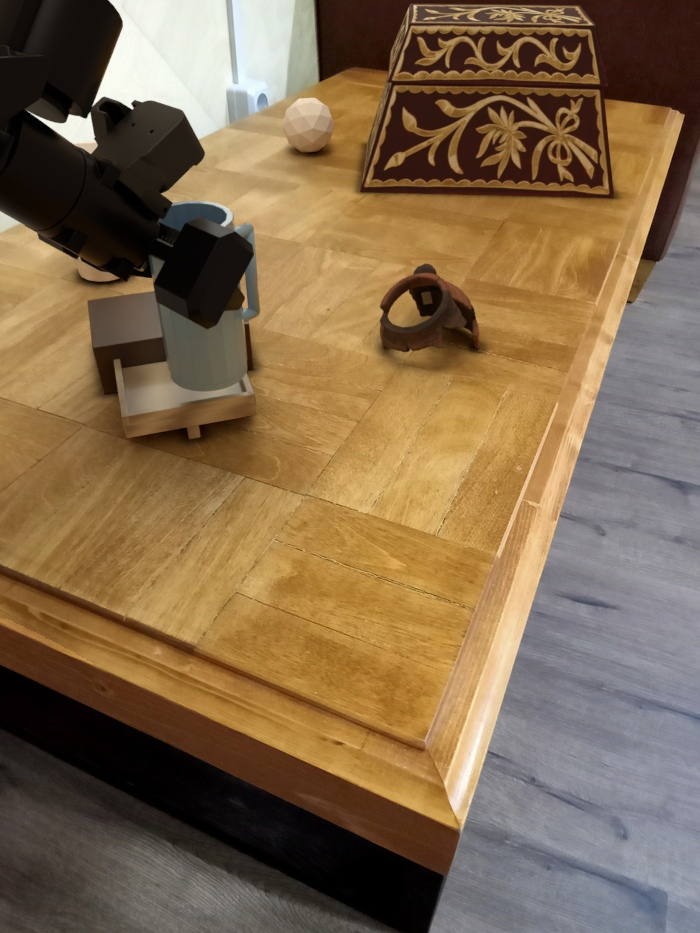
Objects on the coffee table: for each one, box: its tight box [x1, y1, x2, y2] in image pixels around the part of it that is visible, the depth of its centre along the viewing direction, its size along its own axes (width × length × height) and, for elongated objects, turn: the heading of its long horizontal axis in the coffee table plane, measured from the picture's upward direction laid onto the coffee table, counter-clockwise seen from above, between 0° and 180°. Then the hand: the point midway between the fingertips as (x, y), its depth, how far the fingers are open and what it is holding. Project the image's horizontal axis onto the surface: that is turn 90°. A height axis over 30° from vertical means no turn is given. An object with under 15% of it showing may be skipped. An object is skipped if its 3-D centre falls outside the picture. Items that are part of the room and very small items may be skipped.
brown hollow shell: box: [379, 263, 481, 353], centre depth 77 cm, size 12×10×8 cm
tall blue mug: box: [148, 200, 261, 392], centre depth 61 cm, size 9×6×13 cm
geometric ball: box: [282, 97, 335, 153], centre depth 119 cm, size 8×8×8 cm
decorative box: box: [359, 2, 615, 199], centre depth 108 cm, size 35×19×20 cm, turn 86°
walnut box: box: [86, 290, 257, 440], centre depth 71 cm, size 14×18×5 cm
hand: (212, 289), depth 61 cm, fingers closed on tall blue mug, 6 cm apart
